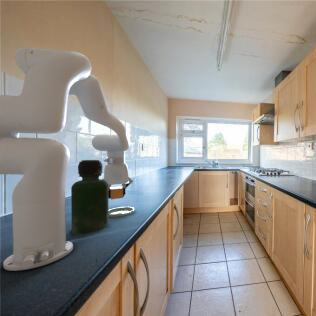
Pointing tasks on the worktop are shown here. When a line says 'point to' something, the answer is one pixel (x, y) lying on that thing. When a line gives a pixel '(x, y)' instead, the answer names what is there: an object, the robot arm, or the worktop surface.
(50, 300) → the worktop surface
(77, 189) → the dark green bottle
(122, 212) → the white plate
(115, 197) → the cube
